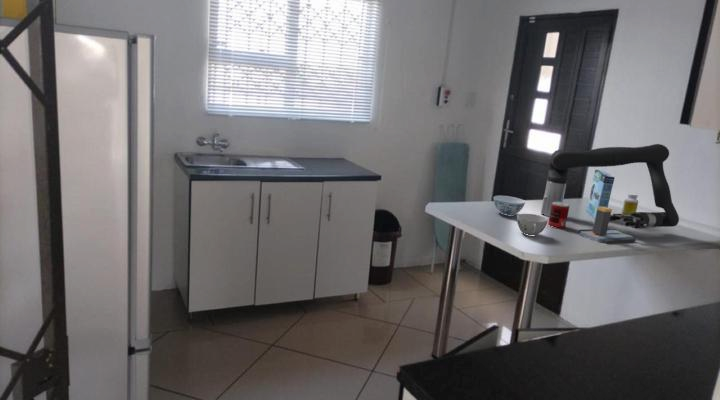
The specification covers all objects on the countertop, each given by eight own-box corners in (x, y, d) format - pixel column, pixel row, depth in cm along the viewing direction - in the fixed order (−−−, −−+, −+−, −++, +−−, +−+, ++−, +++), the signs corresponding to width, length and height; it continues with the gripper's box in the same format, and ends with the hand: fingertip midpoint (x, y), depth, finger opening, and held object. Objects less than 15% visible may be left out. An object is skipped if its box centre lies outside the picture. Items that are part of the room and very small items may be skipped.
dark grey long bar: (632, 241, 231) (633, 238, 230) (635, 242, 230) (635, 239, 229) (603, 242, 223) (604, 239, 223) (606, 243, 222) (606, 240, 222)
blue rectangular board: (614, 232, 242) (614, 229, 241) (632, 239, 233) (633, 236, 232) (579, 234, 232) (580, 231, 232) (597, 241, 224) (598, 238, 223)
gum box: (585, 210, 282) (594, 169, 277) (595, 212, 282) (604, 170, 276) (594, 219, 264) (604, 175, 258) (605, 221, 263) (615, 177, 258)
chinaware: (485, 212, 256) (487, 197, 254) (502, 209, 266) (504, 194, 264) (511, 220, 246) (514, 204, 244) (528, 216, 256) (531, 201, 254)
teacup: (512, 228, 231) (515, 211, 229) (541, 232, 230) (544, 215, 228) (517, 238, 217) (520, 220, 215) (548, 242, 215) (551, 224, 213)
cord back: (606, 231, 243) (607, 228, 243) (608, 232, 242) (609, 229, 242) (578, 232, 236) (578, 229, 235) (580, 233, 234) (581, 230, 234)
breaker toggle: (598, 231, 233) (604, 206, 230) (606, 234, 229) (612, 209, 226) (592, 232, 231) (597, 206, 228) (599, 235, 227) (605, 209, 225)
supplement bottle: (636, 220, 273) (641, 196, 269) (622, 218, 274) (628, 194, 271) (632, 216, 279) (637, 193, 276) (619, 215, 280) (624, 192, 277)
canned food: (564, 225, 246) (569, 203, 243) (565, 229, 238) (570, 206, 236) (547, 222, 248) (552, 200, 245) (547, 226, 241) (552, 203, 238)
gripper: (631, 208, 245) (606, 208, 238) (658, 216, 233) (633, 217, 226) (627, 223, 247) (603, 224, 240) (654, 232, 234) (629, 233, 228)
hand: (618, 220), depth 233 cm, fingers open, 8 cm apart
